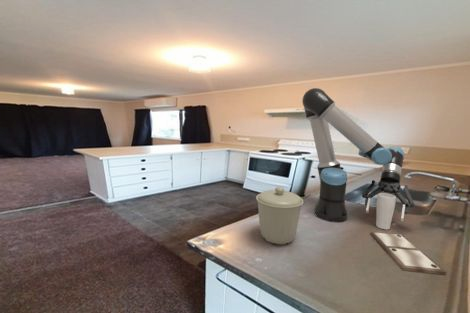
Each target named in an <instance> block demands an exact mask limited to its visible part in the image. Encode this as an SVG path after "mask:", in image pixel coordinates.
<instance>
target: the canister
mask: <svg viewBox="0 0 470 313" xmlns="http://www.w3.org/2000/svg"><path fill="white" fill-rule="evenodd" d="M255 199H256V201H257V208H258V209H257V210H258V221H259V230H260V234H261V236H262V238H263V239H264V238H265V239H266V240H265V239H264V240H265V241H267V242H269V243H271V242H272V243H271V244H274V243H276V244H275V245H286V243H288V244H290V243H291V242H293V241H294V239H295V238H296V235H297V230H298V225H299V220H300V214H301V208H302V205H303V204H304V199H303V198H302V197H301V196H300V195H299V194H296V193H294V192H291V191H288V190H285V188H284V187H282V186H276V187H275V189H269V190H266V191H262V192H260V193H258V194H256V197H255ZM289 242H290V243H289Z"/></svg>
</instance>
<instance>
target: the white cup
mask: <svg viewBox="0 0 470 313" xmlns="http://www.w3.org/2000/svg"><path fill="white" fill-rule="evenodd" d="M396 200H397V196H396V195H395V194H393V193H388V192H381V193H378V194H377V195H376V204H375V205H376V209H375V210H376V213H375V214H376V215H375V216H376V217H375V220H376V221H375V226H376V227H377V228H378V229H381V230H387V231H388V230H390V228H391V225H392V221H393V215H394V212H395V207H396V202H397V201H396Z"/></svg>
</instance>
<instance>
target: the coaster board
mask: <svg viewBox="0 0 470 313" xmlns="http://www.w3.org/2000/svg"><path fill="white" fill-rule="evenodd" d="M369 235H370V236H371V237H372V238H373V239H374V240H375V242H377V244H378V245H379V246H380V247H381V248H382V249H383V250H384V251H385V252H386V253H387V255H388V256H389V257H390V258H391V259H392V260H393V261H394V262H395V264H396V265H397V266H398V267H399V269H401V270H402V271H405V272H415V273H425V274H432V273H435V275H441V274H446V275H447V271H446V270H445V269H444V268H442V266H440V265H439V264H438V263H436V262H435V261H434V260H433V259H431V258H430V256H428V255H427V254H426V253H424V252H423V251H422V250H421V249H420V248H418V247H417V245H415V244H414V243H413V242H411V241H410V240H409V239H408V238H406V237H405V235H403V234H397V233H395V234H394V233H385V232H375V231H374V232H372V231H370V232H369Z"/></svg>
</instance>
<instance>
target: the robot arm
mask: <svg viewBox="0 0 470 313" xmlns="http://www.w3.org/2000/svg"><path fill="white" fill-rule="evenodd" d="M302 106H303V109H304V113H305V118H306V120H308V121H309V122H310V127H311V130H312V136H313V140H314V145H315V149H316V155H317V159H318V164H317V166H316V167H317V173H318V176H319V177H318V178H319V182H320V184H319V199H318V201H317V203H316V205H315V208H314V215H315V214H316V215H317V216H318V218H319V217H320V218H319V219H321V218H322V219H321V220H325V221H327V220H328V221H327V222H333V221H335V223H340V222H341V221H342V222H345V221H347V220H348V216H349V214H348V211H347V207H346V202H345V201H346V193H347V192H346V190H347V182H348V173H347V172H346V170H344V169H342V167H341V162H340V161H338V160H337V159H336V155H335V151H334V144H333V141H332V135H331V131H330V127H329V124H330V126H332V127H333V128H334V129H335V130H337V131H338V132H339V133H340V134H341V136H343V137H345V138H346V139H347V140H348V141H349V142H350V143H351V144H353V146H355V147H356V148H357V149H358V155H359V156H360V157H362V158H366V159H368V160H370V161H372V162H373V163H374V164H376V165H380V166H382V171H381V176H380V180H379V181H376V180H374V179H372V181H371V183H370V185H369V186H368V187H367V188H365V190H364V191H363V192H362V193H361V196H362V198H363V199H365V201H364V205H365V206H366V208H365V213H366V214H369V211H370V206H371V203H372V202H371V200H372V198H374V197H376V196H377V195H378V193H387V194H393V195H394V196H396V198H397V199H398V200H399V201H400V203H401V204H402V210H401V216H400V221H401V222H404V218H405V217H404V216H405V215H407V214H408V213H409V208H411V209H412V208H414V207H415V202H414V200H413V197H412V196H411V192H410V191H409V185H407V184H405V185H401V184H400V183H401V176H402V170H403V163H404V160H405V159H404V158H405V152H404V150H403V149H402V148H401V147H399V146H398V147H397V146H396V147H394V146H391V147H388V148H386V147H384V146H383V145H382V144H380V143H379V142H378V141H377V140H376V139H375V138H373V136H371V134H369V133H368V132H367V131H366V130H364V129H363V127H361V126H360V125H359V124H357V123H356V122H355V121H354V120H353V119H351V118H350V116H348V114H346V113H344V111H343V110H341V109H340V107H338V106H336V102H335V101H334V100H333V99H332V98H331V97H330V96H329V95H328V94H327V93H326V92H325V91H324V90H323V89H322V88H318V87H316V88H314V87H313V88H310V89H308V90H307V91H306V92H305V93H304V94H303V96H302ZM376 186H378V187H377V188H376V189H374V188H375V187H376ZM373 189H374V190H373ZM400 189H401V191H403V193H404V196H403V194H401V192H400V191H399V190H400ZM316 215H315V216H316ZM317 216H316V217H317Z"/></svg>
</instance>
